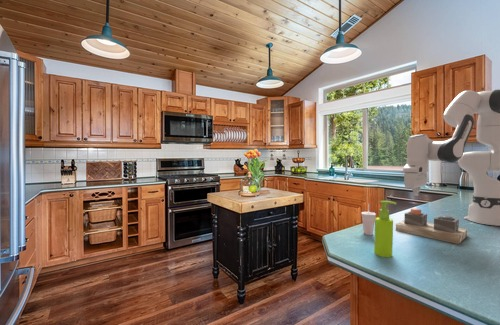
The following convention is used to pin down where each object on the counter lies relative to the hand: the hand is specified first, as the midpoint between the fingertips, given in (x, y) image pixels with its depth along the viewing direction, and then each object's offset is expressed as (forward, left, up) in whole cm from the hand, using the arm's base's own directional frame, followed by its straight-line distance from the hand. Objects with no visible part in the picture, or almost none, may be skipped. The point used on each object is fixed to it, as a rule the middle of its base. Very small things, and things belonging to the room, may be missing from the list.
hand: (416, 195), depth 121 cm
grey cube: (0, +12, -12) cm, 17 cm away
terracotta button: (0, 0, -11) cm, 11 cm away
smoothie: (+24, -12, -17) cm, 32 cm away
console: (0, +6, -17) cm, 18 cm away
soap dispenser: (+43, +3, -17) cm, 47 cm away
